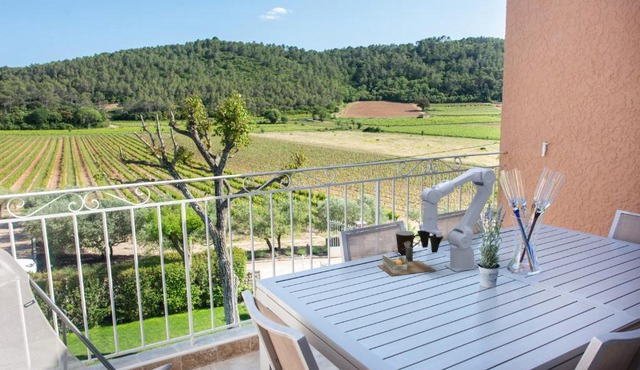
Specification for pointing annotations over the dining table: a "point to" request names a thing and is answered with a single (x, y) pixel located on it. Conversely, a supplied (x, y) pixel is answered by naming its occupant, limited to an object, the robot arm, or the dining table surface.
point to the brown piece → (403, 267)
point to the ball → (398, 262)
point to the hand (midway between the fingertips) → (429, 249)
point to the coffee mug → (405, 241)
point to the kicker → (407, 256)
